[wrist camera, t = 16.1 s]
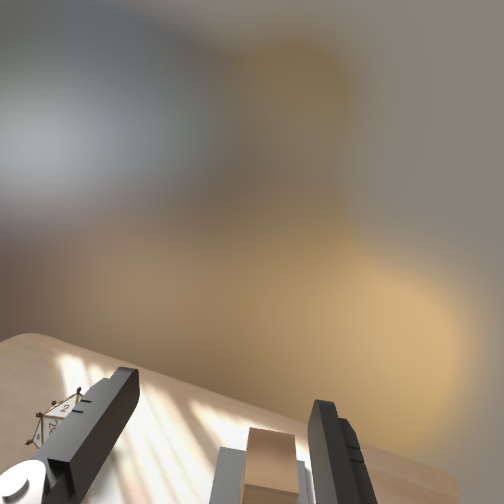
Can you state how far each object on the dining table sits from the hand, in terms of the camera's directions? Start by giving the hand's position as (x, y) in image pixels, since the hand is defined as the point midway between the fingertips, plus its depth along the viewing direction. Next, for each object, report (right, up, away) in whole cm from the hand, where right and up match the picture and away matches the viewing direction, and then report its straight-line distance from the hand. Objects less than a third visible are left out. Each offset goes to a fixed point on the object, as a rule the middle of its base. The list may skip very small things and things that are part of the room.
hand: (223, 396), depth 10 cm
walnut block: (+2, -27, +19) cm, 33 cm away
